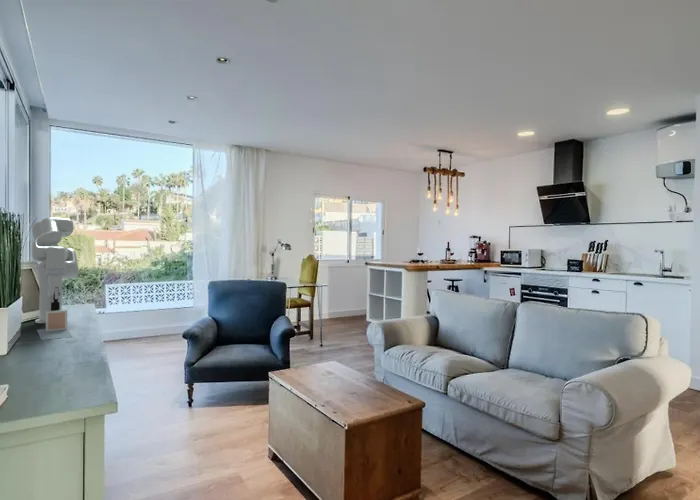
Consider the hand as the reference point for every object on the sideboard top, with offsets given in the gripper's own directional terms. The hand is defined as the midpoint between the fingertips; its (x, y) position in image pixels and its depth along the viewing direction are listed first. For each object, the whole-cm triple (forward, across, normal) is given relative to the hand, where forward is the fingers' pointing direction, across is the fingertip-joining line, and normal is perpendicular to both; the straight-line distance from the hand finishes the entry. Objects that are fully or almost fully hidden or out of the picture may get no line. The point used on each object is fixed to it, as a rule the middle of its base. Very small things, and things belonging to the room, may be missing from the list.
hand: (55, 310), depth 198 cm
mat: (+9, +13, -2) cm, 16 cm away
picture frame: (+8, +6, 0) cm, 10 cm away
